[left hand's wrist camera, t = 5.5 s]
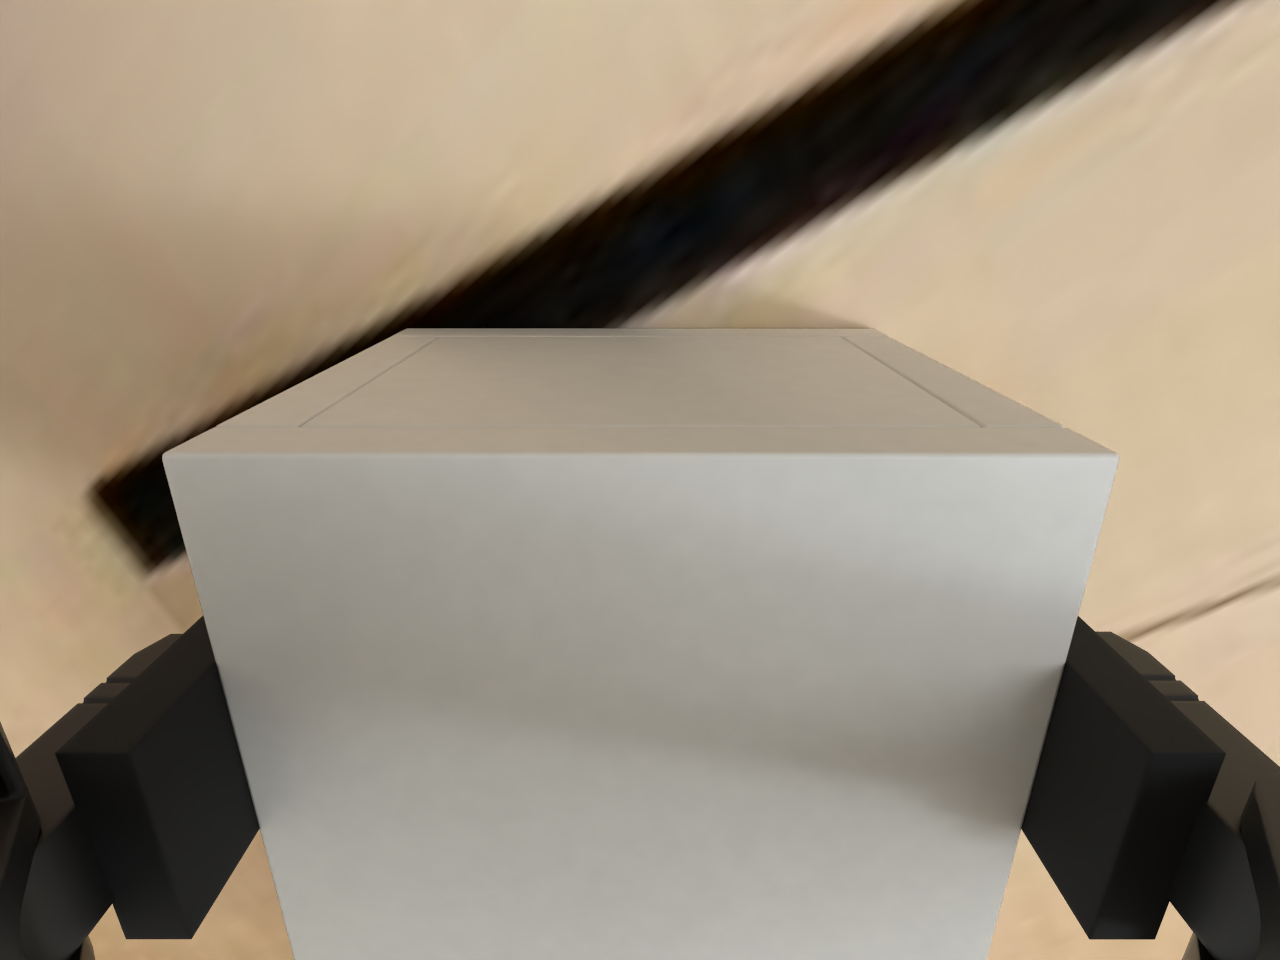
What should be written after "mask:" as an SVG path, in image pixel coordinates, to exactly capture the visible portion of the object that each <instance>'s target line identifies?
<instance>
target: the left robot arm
mask: <svg viewBox="0 0 1280 960" xmlns="http://www.w3.org/2000/svg"><path fill="white" fill-rule="evenodd" d="M1021 829H1022V831H1023V832H1024V834H1025V835H1026V837H1027V839H1028V840H1029V842H1030V844H1031V845H1032V847H1033V848H1034V850H1035V852H1036V853H1037V855H1038V857H1039V858H1040V860H1041V861H1042V863H1043V865H1044V866H1045V868H1046V870H1047V871H1048V873H1049V874H1050V876H1051V878H1052V879H1053V881H1054V883H1055V884H1056V886H1057V887H1058V889H1059V891H1060V892H1061V894H1062V895H1063V897H1064V899H1065V900H1066V902H1067V904H1068V905H1069V907H1070V908H1071V910H1072V912H1073V913H1074V915H1075V917H1076V918H1077V920H1078V921H1079V923H1080V925H1081V926H1082V928H1083V930H1084V931H1085V933H1086V934H1087V936H1088V938H1089V939H1155V937H1156V935H1157V932H1158V930H1159V927H1160V924H1161V922H1162V919H1163V917H1164V914H1165V911H1166V909H1167V906H1168V904H1169V901H1170V902H1171V903H1172V905H1173V906H1174V907H1175V909H1176V910H1177V911H1178V913H1179V914H1180V915H1181V916H1182V918H1183V919H1184V920H1185V922H1186V923H1187V924H1188V926H1189V927H1190V928H1191V930H1192V931H1193V934H1192V936H1191V939H1190V941H1189V944H1188V946H1187V949H1186V951H1185V953H1184V956H1183V958H1182V960H1280V767H1279V766H1278V765H1277V764H1276V763H1275V762H1273V761H1272V760H1271V759H1270V758H1269V757H1268V756H1267V755H1265V754H1264V753H1263V752H1262V751H1261V750H1260V749H1258V748H1257V747H1256V746H1255V745H1254V744H1253V743H1252V742H1250V741H1249V740H1248V739H1247V738H1246V737H1245V736H1244V735H1242V734H1241V733H1240V732H1239V731H1238V730H1237V729H1236V728H1234V727H1233V726H1232V725H1231V724H1230V723H1229V722H1227V721H1226V720H1225V719H1224V718H1223V717H1222V716H1221V715H1219V714H1218V713H1217V712H1216V711H1215V710H1214V709H1213V708H1211V707H1210V706H1209V705H1208V704H1207V703H1206V702H1204V701H1199V700H1198V695H1196V694H1195V693H1194V692H1193V691H1192V690H1191V689H1190V688H1188V687H1187V686H1186V685H1185V684H1184V683H1183V682H1182V681H1176V680H1175V675H1173V674H1172V673H1171V672H1170V671H1169V670H1168V669H1167V668H1165V667H1164V666H1163V665H1162V664H1161V663H1160V662H1159V661H1157V660H1156V659H1155V658H1154V657H1153V656H1152V655H1150V654H1149V653H1148V652H1147V651H1145V650H1143V649H1141V648H1139V647H1138V646H1136V645H1134V644H1132V643H1130V642H1128V641H1127V640H1125V639H1123V638H1121V637H1119V636H1117V635H1116V634H1114V633H1112V632H1095V631H1094V630H1093V629H1092V628H1090V627H1089V626H1088V625H1087V624H1086V623H1085V622H1084V621H1083V620H1082V619H1081V618H1080V617H1079V616H1078V617H1077V620H1076V624H1075V628H1074V632H1073V636H1072V639H1071V643H1070V647H1069V651H1068V654H1067V658H1066V662H1065V666H1064V669H1063V673H1062V677H1061V681H1060V685H1059V688H1058V692H1057V696H1056V700H1055V703H1054V707H1053V711H1052V715H1051V718H1050V722H1049V726H1048V730H1047V734H1046V737H1045V741H1044V745H1043V749H1042V752H1041V756H1040V760H1039V764H1038V767H1037V771H1036V775H1035V779H1034V783H1033V786H1032V790H1031V794H1030V798H1029V801H1028V805H1027V809H1026V813H1025V816H1024V820H1023V824H1022V828H1021ZM258 830H259V824H258V820H257V816H256V812H255V809H254V805H253V801H252V797H251V794H250V790H249V786H248V782H247V778H246V775H245V771H244V767H243V763H242V759H241V756H240V752H239V748H238V744H237V741H236V737H235V733H234V729H233V725H232V722H231V718H230V714H229V710H228V706H227V703H226V699H225V695H224V691H223V688H222V684H221V680H220V676H219V672H218V669H217V665H216V661H215V657H214V653H213V650H212V646H211V642H210V638H209V635H208V631H207V627H206V623H205V619H204V616H202V617H201V618H200V619H199V620H198V621H197V622H196V623H195V624H194V625H192V626H191V627H190V628H189V629H188V630H187V631H186V632H185V633H184V634H170V635H168V636H166V637H165V638H163V639H161V640H159V641H157V642H155V643H154V644H152V645H150V646H148V647H146V648H145V649H143V650H141V651H139V652H137V653H136V654H134V655H133V656H132V657H130V658H129V659H128V660H127V661H126V662H125V663H124V664H122V665H121V666H120V667H119V668H118V669H117V670H116V671H114V672H113V673H112V674H111V675H110V676H109V677H108V678H107V682H106V683H101V684H100V685H98V686H97V687H96V688H95V689H94V690H93V691H92V692H90V693H89V694H88V695H87V696H86V697H85V698H84V702H83V703H79V704H77V705H76V706H75V707H73V708H72V709H71V710H70V711H69V712H68V713H67V714H65V715H64V716H63V717H62V718H61V719H60V720H59V721H57V722H56V723H55V724H54V725H53V726H52V727H51V728H49V729H48V730H47V731H46V732H45V733H44V734H43V735H41V736H40V737H39V738H38V739H37V740H36V741H35V742H33V743H32V744H31V745H30V746H29V747H28V748H27V749H25V750H24V751H23V752H22V753H21V754H20V755H19V756H17V757H16V758H15V757H14V754H13V752H12V749H11V747H10V744H9V742H8V740H7V737H6V735H5V732H4V730H3V727H2V725H1V723H0V960H95V956H94V951H93V946H92V944H91V941H90V939H89V936H88V935H89V933H90V932H91V931H92V929H93V928H94V927H95V925H96V924H97V923H98V921H99V920H100V919H101V918H102V916H103V915H104V914H105V912H106V911H107V910H108V908H109V907H110V906H111V904H113V906H114V909H115V911H116V914H117V917H118V919H119V922H120V924H121V927H122V930H123V932H124V935H125V937H126V939H192V937H193V936H194V934H195V932H196V931H197V929H198V928H199V926H200V924H201V923H202V921H203V919H204V918H205V916H206V915H207V913H208V911H209V910H210V908H211V906H212V905H213V903H214V902H215V900H216V898H217V897H218V895H219V893H220V892H221V890H222V889H223V887H224V885H225V884H226V882H227V880H228V879H229V877H230V876H231V874H232V872H233V871H234V869H235V867H236V866H237V864H238V863H239V861H240V859H241V858H242V856H243V854H244V853H245V851H246V850H247V848H248V846H249V845H250V843H251V841H252V840H253V838H254V837H255V835H256V833H257V832H258Z"/></svg>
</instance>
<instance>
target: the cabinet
mask: <svg viewBox="0 0 1280 960" xmlns="http://www.w3.org/2000/svg"><path fill="white" fill-rule="evenodd" d="M162 460H163V464H164V468H165V472H166V475H167V479H168V483H169V487H170V491H171V494H172V498H173V502H174V506H175V510H176V513H177V517H178V521H179V525H180V528H181V532H182V536H183V540H184V544H185V547H186V551H187V555H188V559H189V563H190V566H191V570H192V574H193V578H194V581H195V585H196V589H197V593H198V597H199V600H200V604H201V608H202V612H203V616H204V619H205V623H206V627H207V631H208V635H209V638H210V642H211V646H212V650H213V653H214V657H215V661H216V665H217V669H218V672H219V676H220V680H221V684H222V688H223V691H224V695H225V699H226V703H227V706H228V710H229V714H230V718H231V722H232V725H233V729H234V733H235V737H236V741H237V744H238V748H239V752H240V756H241V759H242V763H243V767H244V771H245V775H246V778H247V782H248V786H249V790H250V794H251V797H252V801H253V805H254V809H255V812H256V816H257V820H258V824H259V828H260V831H261V835H262V839H263V843H264V847H265V850H266V854H267V858H268V862H269V865H270V869H271V873H272V877H273V881H274V884H275V888H276V892H277V896H278V900H279V903H280V907H281V911H282V915H283V918H284V922H285V926H286V930H287V934H288V937H289V941H290V945H291V949H292V953H293V956H294V960H987V956H988V952H989V948H990V945H991V941H992V937H993V933H994V929H995V926H996V922H997V918H998V914H999V911H1000V907H1001V903H1002V899H1003V896H1004V892H1005V888H1006V884H1007V881H1008V877H1009V873H1010V869H1011V865H1012V862H1013V858H1014V854H1015V850H1016V847H1017V843H1018V839H1019V835H1020V832H1021V828H1022V824H1023V820H1024V816H1025V813H1026V809H1027V805H1028V801H1029V798H1030V794H1031V790H1032V786H1033V783H1034V779H1035V775H1036V771H1037V767H1038V764H1039V760H1040V756H1041V752H1042V749H1043V745H1044V741H1045V737H1046V734H1047V730H1048V726H1049V722H1050V718H1051V715H1052V711H1053V707H1054V703H1055V700H1056V696H1057V692H1058V688H1059V685H1060V681H1061V677H1062V673H1063V669H1064V666H1065V662H1066V658H1067V654H1068V651H1069V647H1070V643H1071V639H1072V636H1073V632H1074V628H1075V624H1076V620H1077V617H1078V613H1079V609H1080V605H1081V602H1082V598H1083V594H1084V590H1085V587H1086V583H1087V579H1088V575H1089V572H1090V568H1091V564H1092V560H1093V556H1094V553H1095V549H1096V545H1097V541H1098V538H1099V534H1100V530H1101V526H1102V523H1103V519H1104V515H1105V511H1106V507H1107V504H1108V500H1109V496H1110V492H1111V489H1112V485H1113V481H1114V477H1115V474H1116V470H1117V466H1118V462H1119V455H1118V453H1116V452H1114V451H1112V450H1110V449H1108V448H1106V447H1104V446H1102V445H1100V444H1098V443H1096V442H1094V441H1092V440H1090V439H1088V438H1086V437H1084V436H1082V435H1080V434H1078V433H1077V432H1075V431H1073V430H1071V429H1068V428H1064V426H1063V425H1061V424H1059V423H1057V422H1055V421H1053V420H1051V419H1049V418H1047V417H1045V416H1043V415H1041V414H1039V413H1037V412H1035V411H1033V410H1031V409H1029V408H1027V407H1025V406H1023V405H1021V404H1020V403H1018V402H1016V401H1014V400H1012V399H1010V398H1008V397H1006V396H1004V395H1002V394H1000V393H998V392H996V391H994V390H992V389H990V388H988V387H986V386H984V385H982V384H980V383H979V382H977V381H975V380H973V379H971V378H969V377H967V376H965V375H963V374H961V373H959V372H957V371H955V370H953V369H951V368H949V367H947V366H945V365H943V364H941V363H939V362H937V361H936V360H934V359H932V358H930V357H928V356H926V355H924V354H922V353H920V352H918V351H916V350H914V349H912V348H910V347H908V346H906V345H904V344H902V343H900V342H898V341H896V340H895V339H893V338H891V337H889V336H888V335H886V334H884V333H882V332H880V331H878V330H876V329H612V328H407V329H405V330H403V331H401V332H399V333H397V334H395V335H393V336H392V337H390V338H388V339H386V340H384V341H382V342H380V343H378V344H376V345H374V346H372V347H370V348H368V349H366V350H364V351H362V352H360V353H358V354H356V355H354V356H352V357H350V358H348V359H346V360H344V361H342V362H341V363H339V364H337V365H335V366H333V367H331V368H329V369H327V370H325V371H323V372H321V373H319V374H317V375H315V376H313V377H311V378H309V379H307V380H305V381H303V382H301V383H299V384H297V385H295V386H293V387H292V388H290V389H288V390H286V391H284V392H282V393H280V394H278V395H276V396H274V397H272V398H270V399H268V400H266V401H264V402H262V403H260V404H258V405H256V406H254V407H252V408H250V409H248V410H246V411H244V412H243V413H241V414H239V415H237V416H235V417H233V418H231V419H229V420H227V421H225V422H223V423H221V424H219V425H217V426H216V427H214V428H212V429H210V430H208V431H206V432H204V433H202V434H200V435H198V436H196V437H194V438H192V439H190V440H189V441H187V442H185V443H183V444H181V445H179V446H177V447H175V448H173V449H171V450H169V451H167V452H165V453H164V454H163V456H162Z"/></svg>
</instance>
